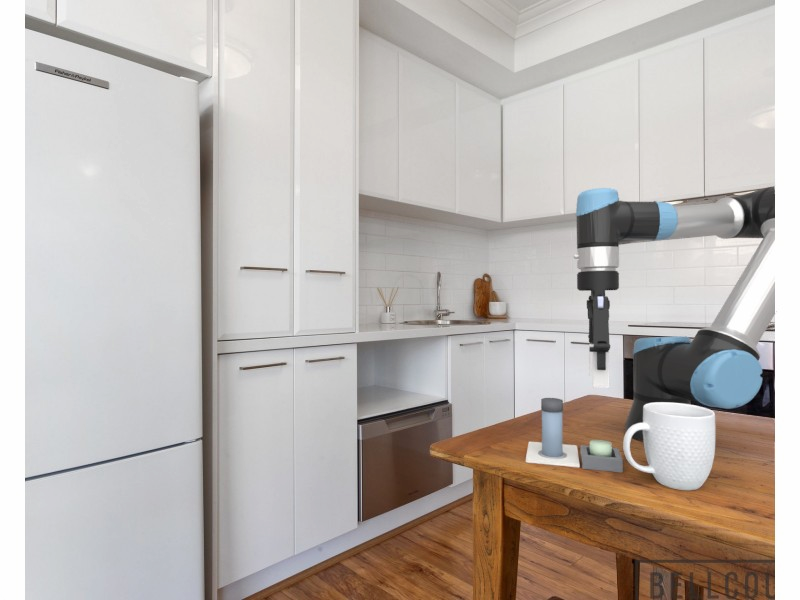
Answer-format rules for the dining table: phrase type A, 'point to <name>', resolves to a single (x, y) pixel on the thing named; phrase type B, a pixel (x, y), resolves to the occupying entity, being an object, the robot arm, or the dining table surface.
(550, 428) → the capped blue-grey cylinder
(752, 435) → the dining table surface
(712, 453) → the mug
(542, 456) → the white flat plate
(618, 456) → the button housing
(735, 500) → the dining table surface
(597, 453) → the button
